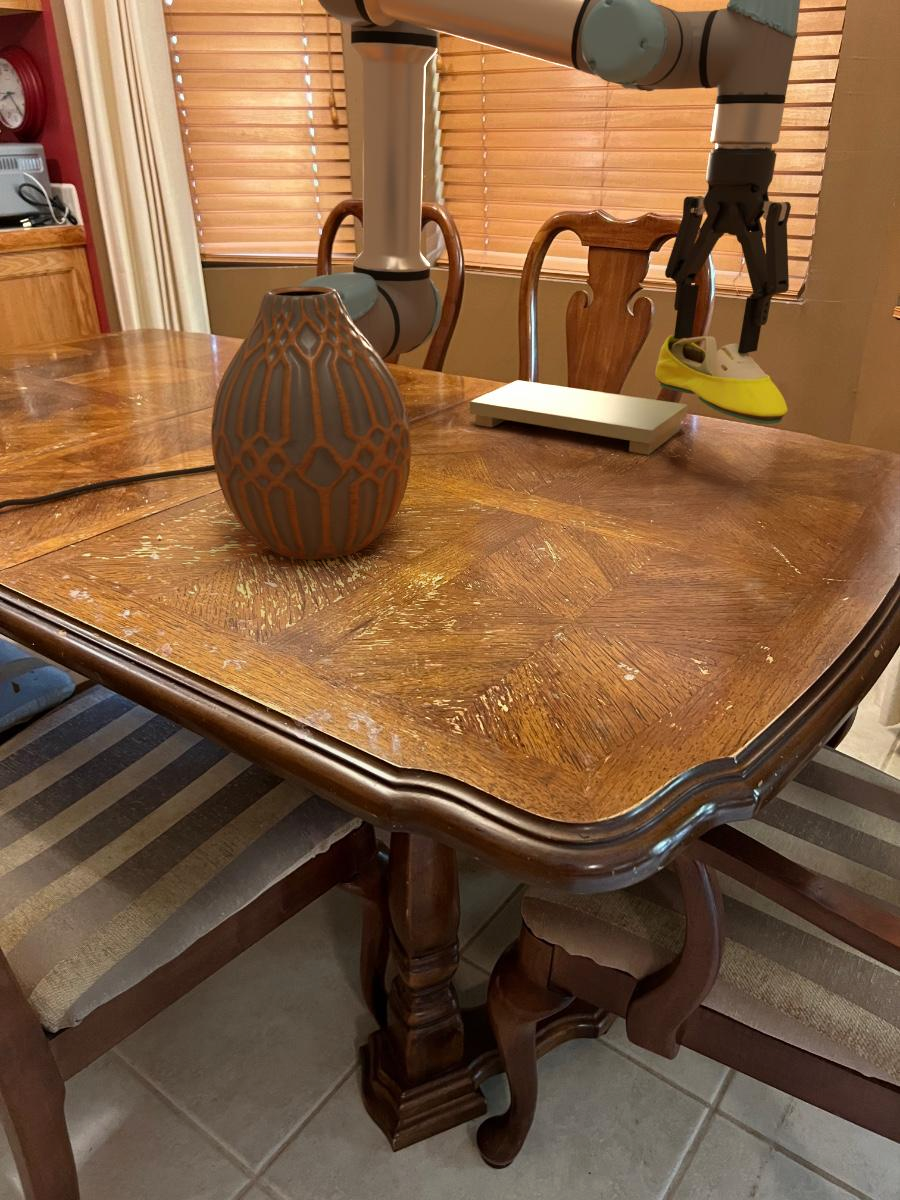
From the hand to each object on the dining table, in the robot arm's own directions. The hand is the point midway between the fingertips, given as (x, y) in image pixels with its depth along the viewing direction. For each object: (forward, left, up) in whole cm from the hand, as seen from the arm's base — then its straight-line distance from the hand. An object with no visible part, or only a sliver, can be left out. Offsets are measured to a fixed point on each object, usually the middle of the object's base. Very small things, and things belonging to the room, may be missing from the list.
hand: (714, 344), depth 110 cm
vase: (-45, +30, -17) cm, 56 cm away
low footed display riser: (+10, +23, -17) cm, 30 cm away
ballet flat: (0, -1, -8) cm, 8 cm away
